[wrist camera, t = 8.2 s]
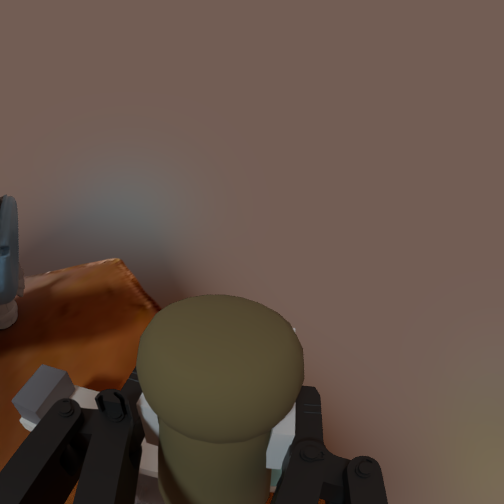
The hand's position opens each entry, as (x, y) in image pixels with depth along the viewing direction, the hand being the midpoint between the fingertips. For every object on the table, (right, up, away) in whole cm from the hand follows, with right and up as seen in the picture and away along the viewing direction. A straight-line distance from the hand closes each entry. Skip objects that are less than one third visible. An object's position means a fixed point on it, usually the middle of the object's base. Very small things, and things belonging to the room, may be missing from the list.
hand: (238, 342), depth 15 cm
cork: (-1, -8, -3) cm, 8 cm away
